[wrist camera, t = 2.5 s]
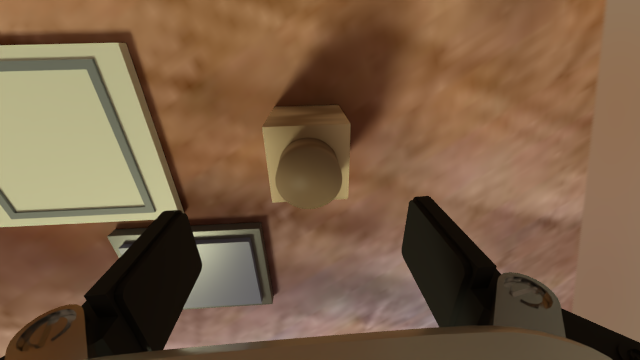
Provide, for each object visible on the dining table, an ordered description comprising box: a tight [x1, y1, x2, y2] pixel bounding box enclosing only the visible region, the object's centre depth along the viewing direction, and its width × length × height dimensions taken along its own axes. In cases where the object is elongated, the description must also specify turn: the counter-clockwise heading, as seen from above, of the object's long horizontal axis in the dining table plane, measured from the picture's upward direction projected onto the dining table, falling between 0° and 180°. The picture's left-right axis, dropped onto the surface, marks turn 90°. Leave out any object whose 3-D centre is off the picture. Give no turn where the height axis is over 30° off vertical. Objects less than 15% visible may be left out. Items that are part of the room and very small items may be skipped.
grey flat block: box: [107, 222, 273, 309], centre depth 25 cm, size 14×11×2 cm
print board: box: [0, 43, 184, 227], centre depth 19 cm, size 16×14×1 cm
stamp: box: [262, 105, 351, 209], centre depth 17 cm, size 5×5×8 cm
